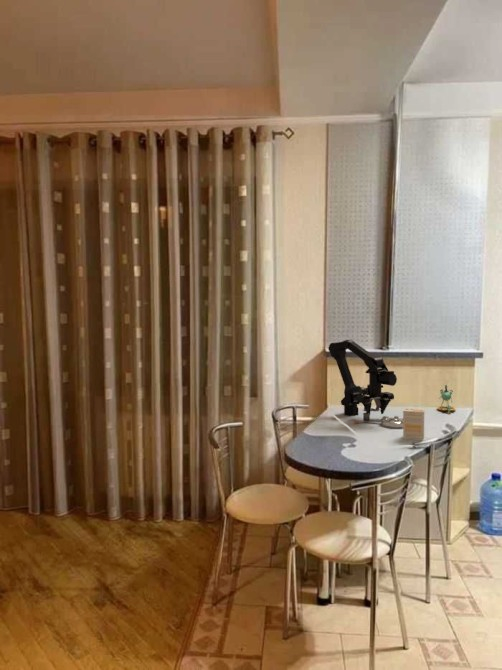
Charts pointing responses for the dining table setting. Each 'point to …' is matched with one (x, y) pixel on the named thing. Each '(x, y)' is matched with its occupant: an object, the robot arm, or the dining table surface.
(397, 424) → the gear crank handle
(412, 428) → the supplement box
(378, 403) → the portable electronic device stand
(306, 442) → the dining table surface
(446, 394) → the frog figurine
